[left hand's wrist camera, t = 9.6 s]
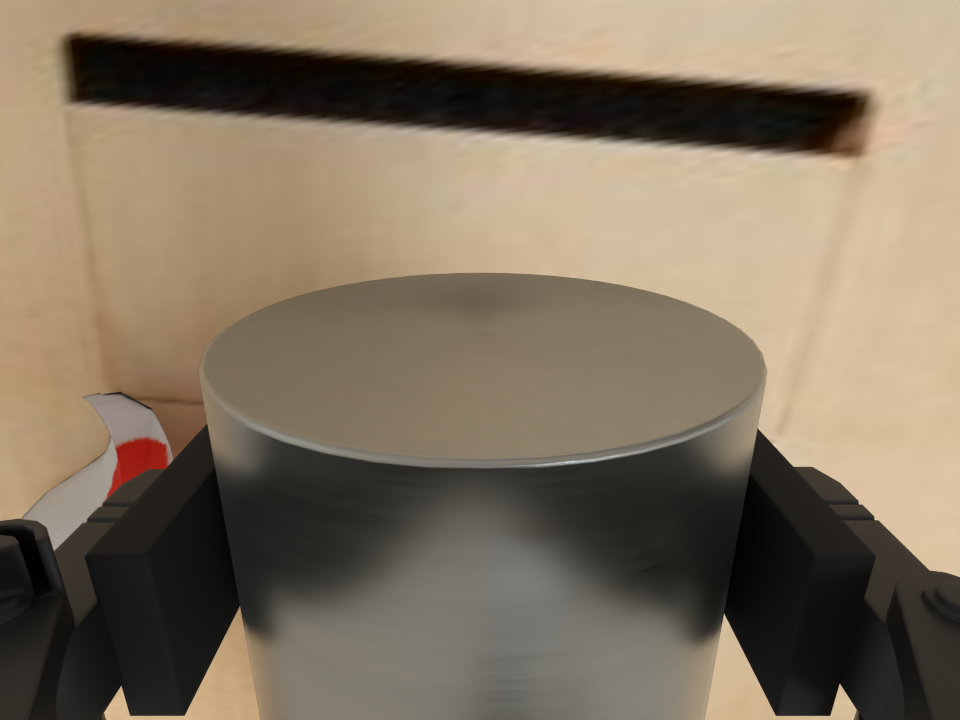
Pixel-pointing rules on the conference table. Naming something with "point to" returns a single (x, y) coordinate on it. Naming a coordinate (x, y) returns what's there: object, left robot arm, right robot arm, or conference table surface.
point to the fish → (104, 465)
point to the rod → (482, 496)
